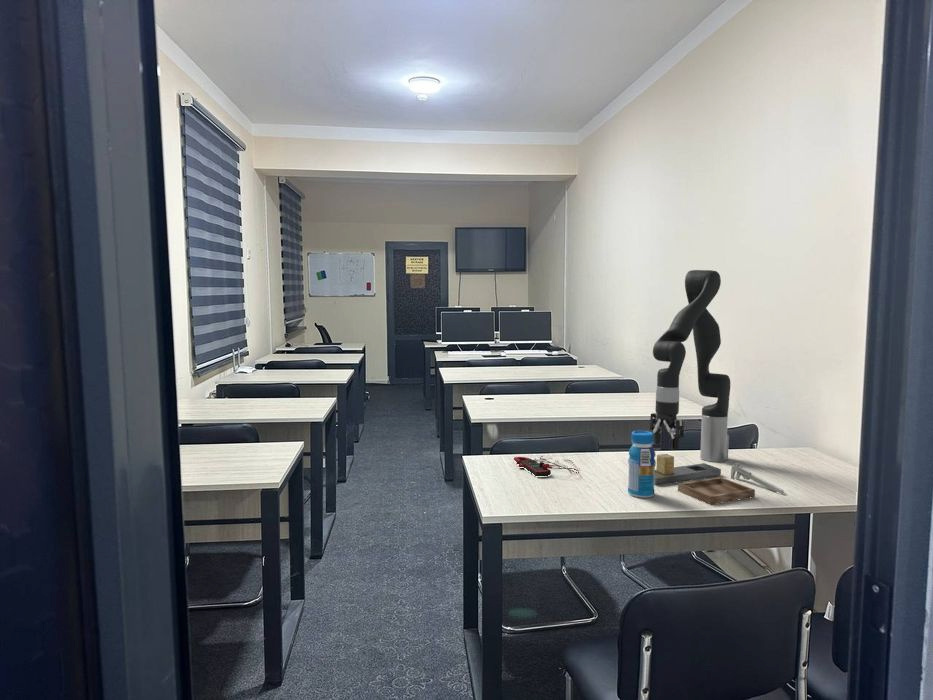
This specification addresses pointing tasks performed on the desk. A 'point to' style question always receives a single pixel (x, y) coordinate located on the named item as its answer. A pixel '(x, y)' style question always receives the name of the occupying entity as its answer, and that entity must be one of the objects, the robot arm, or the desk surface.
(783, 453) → the desk surface
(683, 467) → the rail
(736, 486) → the tray
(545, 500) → the desk surface
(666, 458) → the peg
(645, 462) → the beverage bottle
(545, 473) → the digital clamp meter
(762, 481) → the caliper
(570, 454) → the desk surface
